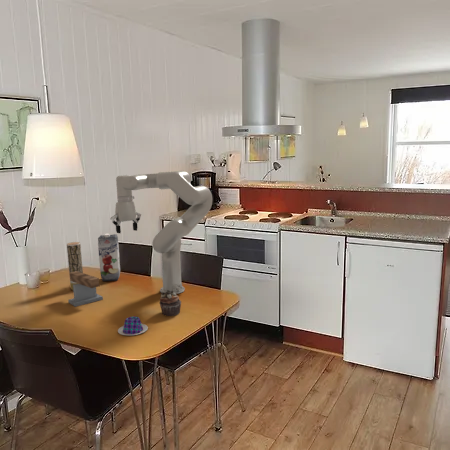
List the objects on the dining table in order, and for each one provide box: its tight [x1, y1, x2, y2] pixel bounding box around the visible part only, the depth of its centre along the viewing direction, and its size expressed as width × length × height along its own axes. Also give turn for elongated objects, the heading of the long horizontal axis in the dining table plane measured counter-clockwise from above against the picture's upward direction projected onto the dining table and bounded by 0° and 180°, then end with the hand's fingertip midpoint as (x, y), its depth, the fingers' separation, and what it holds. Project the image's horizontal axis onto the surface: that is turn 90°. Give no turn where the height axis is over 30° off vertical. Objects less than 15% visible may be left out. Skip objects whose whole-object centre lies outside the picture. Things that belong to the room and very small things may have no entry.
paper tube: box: [66, 241, 84, 291], centre depth 230 cm, size 7×7×25 cm
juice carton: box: [97, 233, 121, 282], centre depth 245 cm, size 9×10×27 cm
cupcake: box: [159, 290, 182, 317], centre depth 193 cm, size 10×10×10 cm
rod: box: [68, 271, 100, 288], centre depth 211 cm, size 20×4×4 cm, turn 48°
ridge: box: [67, 284, 104, 308], centre depth 212 cm, size 8×14×9 cm, turn 131°
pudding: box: [117, 315, 149, 336], centre depth 176 cm, size 12×12×5 cm
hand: (127, 231), depth 228 cm, fingers open, 9 cm apart
